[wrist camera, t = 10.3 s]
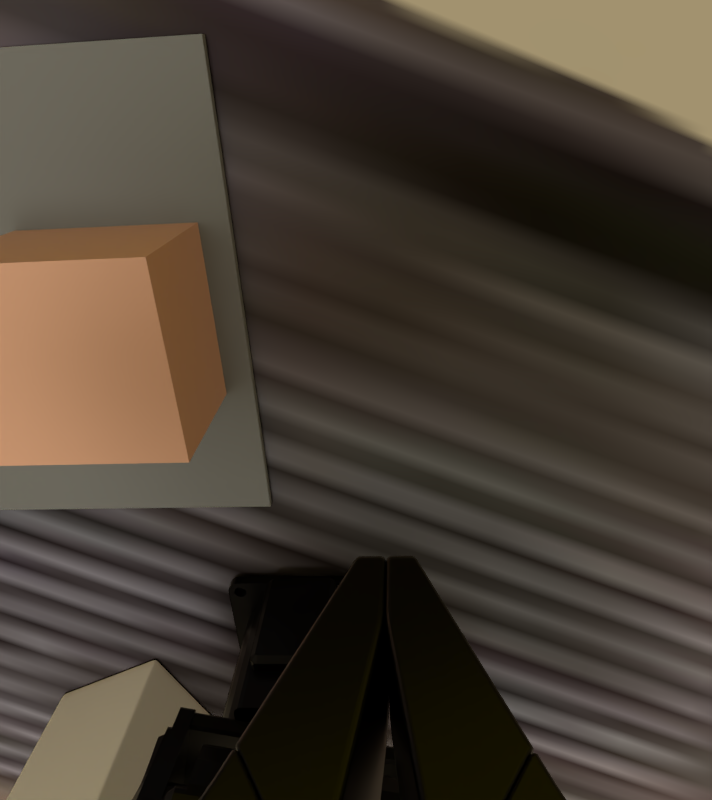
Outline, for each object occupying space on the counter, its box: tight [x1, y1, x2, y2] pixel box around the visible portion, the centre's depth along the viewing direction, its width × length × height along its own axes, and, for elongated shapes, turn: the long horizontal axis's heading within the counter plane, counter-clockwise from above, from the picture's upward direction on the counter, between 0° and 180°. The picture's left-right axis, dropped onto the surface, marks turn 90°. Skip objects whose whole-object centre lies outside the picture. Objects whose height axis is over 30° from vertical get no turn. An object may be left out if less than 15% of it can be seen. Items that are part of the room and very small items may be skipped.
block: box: [0, 222, 227, 466], centre depth 18 cm, size 6×6×4 cm
